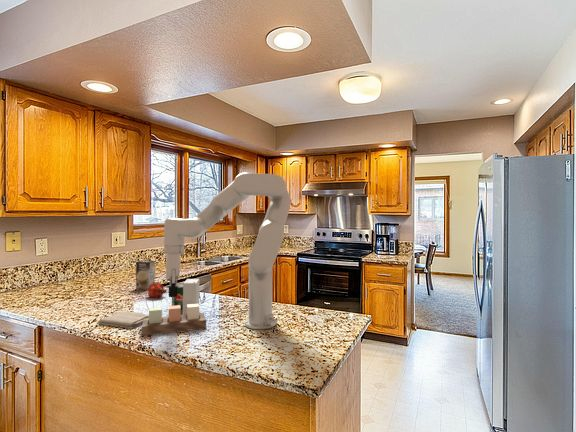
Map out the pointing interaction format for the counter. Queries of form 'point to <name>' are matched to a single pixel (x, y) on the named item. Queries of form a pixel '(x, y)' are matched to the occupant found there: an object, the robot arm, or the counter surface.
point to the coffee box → (145, 274)
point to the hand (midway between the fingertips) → (172, 296)
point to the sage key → (155, 315)
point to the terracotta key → (174, 313)
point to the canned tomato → (178, 297)
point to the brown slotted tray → (173, 325)
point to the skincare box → (190, 293)
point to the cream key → (192, 311)
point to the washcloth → (124, 319)
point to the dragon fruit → (156, 290)
